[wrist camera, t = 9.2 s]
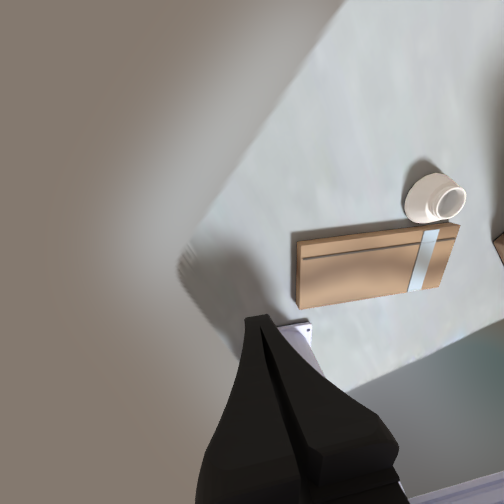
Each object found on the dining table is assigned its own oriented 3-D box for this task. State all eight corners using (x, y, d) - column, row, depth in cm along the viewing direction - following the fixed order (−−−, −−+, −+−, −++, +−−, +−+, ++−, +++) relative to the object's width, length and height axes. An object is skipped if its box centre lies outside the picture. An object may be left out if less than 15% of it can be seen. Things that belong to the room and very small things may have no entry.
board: (429, 281, 27) (439, 287, 26) (295, 303, 25) (299, 310, 24) (449, 222, 24) (461, 225, 23) (296, 241, 22) (301, 246, 21)
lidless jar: (449, 202, 23) (439, 162, 21) (479, 208, 21) (472, 163, 18) (408, 229, 24) (395, 193, 22) (433, 238, 21) (420, 198, 19)
